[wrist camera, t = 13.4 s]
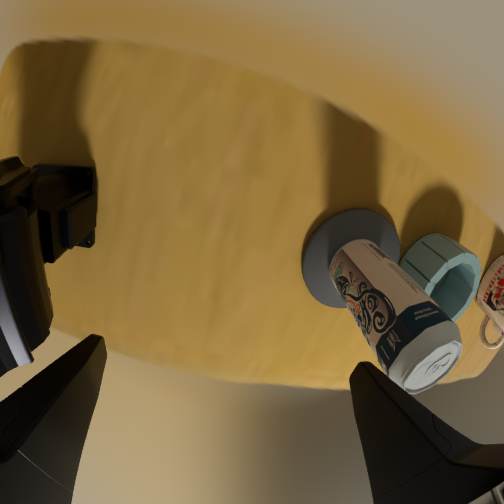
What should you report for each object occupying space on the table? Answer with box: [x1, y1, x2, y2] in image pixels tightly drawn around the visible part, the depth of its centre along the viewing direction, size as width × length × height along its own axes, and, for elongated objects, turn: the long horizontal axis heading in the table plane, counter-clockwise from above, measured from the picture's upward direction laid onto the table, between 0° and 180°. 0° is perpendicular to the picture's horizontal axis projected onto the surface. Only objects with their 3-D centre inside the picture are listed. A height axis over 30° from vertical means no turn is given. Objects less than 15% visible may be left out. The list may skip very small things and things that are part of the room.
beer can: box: [329, 239, 463, 394], centre depth 16 cm, size 5×5×12 cm
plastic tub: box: [398, 233, 481, 322], centre depth 22 cm, size 9×9×5 cm
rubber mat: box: [302, 208, 400, 308], centre depth 22 cm, size 9×9×1 cm
